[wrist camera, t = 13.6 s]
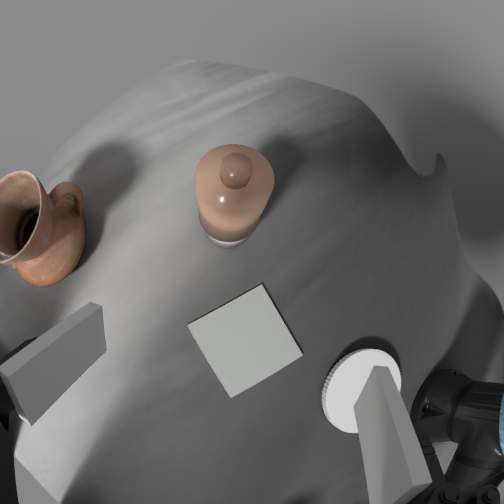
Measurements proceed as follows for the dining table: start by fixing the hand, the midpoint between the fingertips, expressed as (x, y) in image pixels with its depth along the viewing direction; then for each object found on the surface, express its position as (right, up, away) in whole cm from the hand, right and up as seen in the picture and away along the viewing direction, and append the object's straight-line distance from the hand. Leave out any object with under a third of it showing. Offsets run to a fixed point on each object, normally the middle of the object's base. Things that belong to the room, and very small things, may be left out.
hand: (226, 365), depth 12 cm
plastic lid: (+18, -17, +27) cm, 37 cm away
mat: (0, -7, +26) cm, 27 cm away
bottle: (-2, +10, +25) cm, 27 cm away
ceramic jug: (-30, +7, +26) cm, 40 cm away
